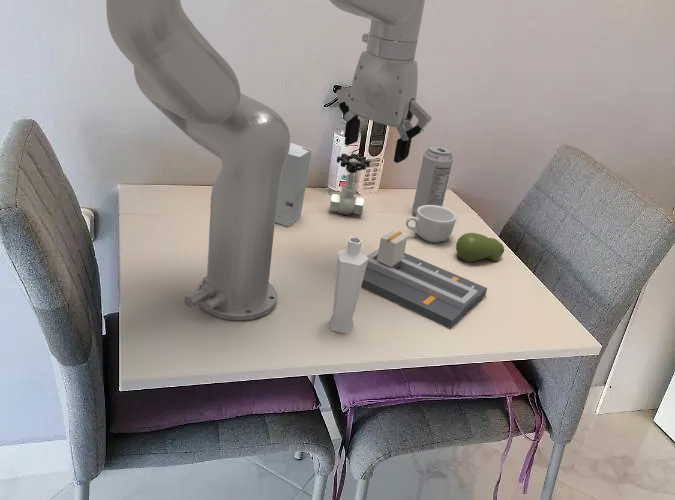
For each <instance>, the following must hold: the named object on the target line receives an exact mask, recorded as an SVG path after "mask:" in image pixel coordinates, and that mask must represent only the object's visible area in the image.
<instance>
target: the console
mask: <svg viewBox="0 0 675 500" xmlns="http://www.w3.org/2000/svg"><path fill="white" fill-rule="evenodd" d="M378 251H379V248H377V249H376V250H374V251H373V252H371V253H369V254H368V255H366V256H367V257H368V258H369V259H368V263H367V266H366V270H365V274H364V278H363V282H362V285H361V288H363V289H365V290H368V291H369V292H371V293H374V294H376V295H378V296H380V297H382V298H384V299H387V300H389V301H391V302H393V303H394V304H397V305H400V306H401V307H404V308H405V309H407V310H409V311H413V312H414V313H416V314H418V315H421V316H423V317H425V318H427V319H430V321H431V320H432V321H433V322H435V323H438V324H440V325H442V326H444V327H447V328H448V329H452V328H453V327H454V326H455V325H456V324H457V323H458V322H459V321H460V320H461V319H462V318H463V317H464V316H465V315H467V313H469V311H471V310H472V309H473V308H474V307H475V306H476V305H477V304H478V303H479V302H480V301H481V300H482V299H484V298H485V297H486V296H487V295H486V294H487V292H488V287H485V286H483V285H481V284H478V283H476V282H474V281H471V280H470V279H467V278H465V277H463V276H459V275H457V274H455V273H453V272H451V271H449V270H446V269H443V268H442V267H439V266H436V265H434V264H432V263H430V262H427V261H425V260H422V259H420V258H418V257H415V256H413V255H411V254H409V253H406V252H404V256H403V259H402V260H401V261H400V263H399V267H397V268H396V269H394V268H392V267H390V266H388V265H385V264H383V263H381V262H379V261H377V256H378Z"/></svg>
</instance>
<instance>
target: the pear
mask: <svg viewBox="0 0 675 500" xmlns="http://www.w3.org/2000/svg"><path fill="white" fill-rule="evenodd" d="M455 244H456V245H455V251H456V254H457V255H458V257H459V258H461V259H462V260H463V261H466V262H476V261H480V260H482V259H485V258H488V259H489V260H491V261H493V262H498V260H499V261H500V259H501V257H502V256H503V254H504V253H505V248H504V247H505V246H504V244H503V243H501V242H500V241H499V240H497V239H496V238H494V237H488V236H486V235H483V234H481V233H477V232H466V233H464V234H462V235H461V236H459V238H458V239H457V241H456V243H455Z"/></svg>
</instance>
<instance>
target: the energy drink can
mask: <svg viewBox="0 0 675 500" xmlns="http://www.w3.org/2000/svg"><path fill="white" fill-rule="evenodd" d="M452 152H453V151H452V149H451V148H449V147H448V146H445V145H441V144H430V145H428V147H427V149H426V151H424V153H423V156H422V159H421V160H422V161H421V166H420V171H419V174H418V180H417V185H416V190H415V195H414V200H413V204H412V212H413V215H414V217H416V214H417V209H418V208H419V207H420V206H423V205H437V206H442V207H444V205H443V204H444V200H445V196H446V192H447V188H448V183H449V178H450V174H451V170H452V166H453V161H454V158H453V155H452Z"/></svg>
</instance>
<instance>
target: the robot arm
mask: <svg viewBox="0 0 675 500" xmlns="http://www.w3.org/2000/svg"><path fill="white" fill-rule="evenodd" d="M329 1H330V3H331V4H332V5H334V6H335V8H337V9H339V10H341V11H343V12H345V13H349V14H351V15H354V16H358V17H361V18H364V19H368V20H370V27H369V28H370V29H369V31H368V33H363V34H362V35H361V41H362V42H363V43H365V44H366V50H365V51H362V52H361V54H360V55H359V59H358V62H357V65H356V67H355V72H354V75H353V78H352V83H351V86H347V87H344V88H340V89H337V90H336V93H335V94H336V96H337V101H338V103H339V105H338V107H339V109H340V111H341V113H342V115H343V119H344V121H345V122H346V123H345V128H344V129H345V130H344V145H345V146H350V145H353V144H355V143H357V142H359V141H358V140H359V134H360V128H361V119H359V117H360V118H363V119H365V120H368V121H369V120H370V121H372V122H375V123H379V124H382V125H385V126H387V127H392V128H393V127H394V128H396V129H397V132H398V134H399V137H400V138H398V139H397V141H396V146H395V151H394V157H393V162H394V163H395V164H399V163H401V162H403V161H404V160H406V159H407V158H408V157H409V154H410V150H411V144H412V138H414V137H416V136H418V135H419V134H421V133H422V132H424V130H425V128H427V126H428V125H429V124H430V122H431V121H432V117H431V115H430V114H429V113H427V111H425V109H424V108H423V107H422V106H421V105H420V104H418V103H417V93H418V82H419V81H418V78H419V77H418V75H419V74H418V73H419V72H418V61H417V60H415V57H416V51H417V46H418V42H419V41H418V39H419V35H420V29H421V25H422V19H423V11H424V7H425V1H426V0H329ZM181 2H182V1H181V0H106V2H105V4H106V5H105V6H106V20H107V25H108V30H109V33H110V36H111V38H112V40H113V42H114V43H115V45H116V46H117V48H118V49H119V50H120V52H121V53H122V54H123V56H125V58H126V59H127V61H129V62H130V63H131V64H132V65H133V74H134V78H135V81H136V84H137V86H138V88H139V89H140V91H141V93H142V94H143V95H144V96H145V98H146V99H148V101H150V102H151V104H153V105H154V107H156V108H157V109H158V110H159V111H160V112H161V113H162V114H163V115H164V116H165V117H166V118H167V119H168V120H170V121H171V123H173V125H175V126H176V127H177V128H178V129H179V130H181V131H182V132H183V133H184V134H185V135H186V136H187V137H189V138H190V140H192V141H193V142H195V144H197V145H199V146H200V147H201V148H203V149H205V150H206V151H209V153H211V154H213V155H214V156H215V157H216V158H218V159H220V160H221V169H220V171H219V174H218V175H217V176H216V179H215V180H214V182H213V185H212V190H211V194H210V195H211V196H210V214H209V215H210V216H209V229H208V231H209V233H208V251H207V265H206V266H207V271H206V276H204V277H202V280H201V281H200V282H199V283H198V284H197V287H196V288H195V291H194V292H192V293H190V294H188V295H186V296H185V297H184V298H183V303H184V305H185V306H186V307H187V308H188V309H194V308H195V307H197V306H199V307H200V308H201V309H202V310H203V311H205V312H206V313H208V314H210V315H212V316H213V317H215V318H219V319H225V320H230V321H249V320H255V319H258V318H261V317H264V316H265V315H268V313H271V311H273V309H274V308H275V307H276V305H277V301H278V293H277V289H276V288H275V286H274V285H273V284H271V283H270V274H271V273H270V271H271V262H272V253H273V243H274V234H275V226H276V222H275V216H276V205H277V197H278V190H279V184H280V179H281V175H282V171H283V168H284V165H285V162H286V159H287V156H288V153H289V148H290V143H291V134H290V129H289V127H288V125H287V123H286V121H285V120H284V119H283V118H282V116H281V115H280V114H279V113H278V112H276V111H275V110H274V109H272V108H270V107H269V106H268V105H267V104H264V103H262V102H260V101H258V100H256V99H254V98H252V97H250V96H248V95H246V94H244V93H242V92H241V87H240V82H239V79H238V77H237V75H236V73H235V70H233V68H232V66H231V65H230V64H229V63H228V62H227V60H226V59H225V58H224V57H223V56H222V55H221V54H220V53H219V52H218V51H217V50H216V49H215V48H214V46H213V45H212V44H211V43H210V42H209V41H208V40H207V39H206V38H205V37H204V35H203V34H202V33H201V32H200V31H199V29H197V27H196V26H195V24H193V22H192V20H190V18H189V16H188V15H187V14H186V12H185V11H184V8H183V6H182V3H181ZM413 117H416V119H417V123H416V124H415V126H413V124H412V122H411V121H412V120H413Z"/></svg>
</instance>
